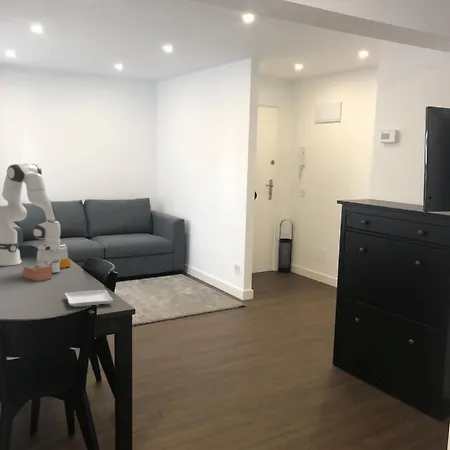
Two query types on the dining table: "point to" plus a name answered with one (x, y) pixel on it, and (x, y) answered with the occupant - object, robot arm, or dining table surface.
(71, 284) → the dining table surface
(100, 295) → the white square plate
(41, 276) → the pink boxy piece
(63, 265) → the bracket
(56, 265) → the block with knob
